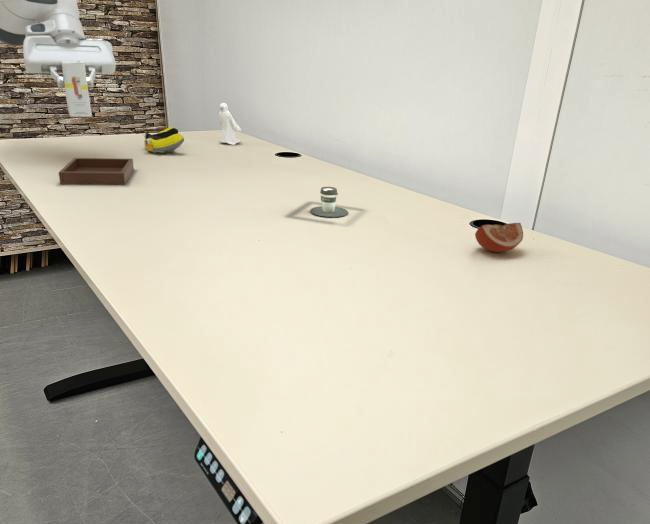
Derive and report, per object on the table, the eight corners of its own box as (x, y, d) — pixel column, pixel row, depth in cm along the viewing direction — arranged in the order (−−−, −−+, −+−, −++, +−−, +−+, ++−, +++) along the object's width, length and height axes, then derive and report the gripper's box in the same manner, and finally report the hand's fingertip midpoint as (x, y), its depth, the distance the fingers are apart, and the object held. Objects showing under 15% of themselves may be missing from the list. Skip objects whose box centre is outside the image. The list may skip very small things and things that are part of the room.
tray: (60, 184, 129) (58, 172, 128) (75, 168, 143) (73, 157, 142) (125, 184, 131) (123, 173, 130) (133, 169, 145) (132, 158, 144)
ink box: (67, 112, 145) (60, 59, 140) (88, 112, 147) (82, 60, 142) (69, 117, 138) (62, 62, 133) (92, 117, 140) (85, 62, 135)
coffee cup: (364, 209, 123) (366, 185, 121) (346, 224, 113) (348, 198, 110) (310, 201, 126) (311, 178, 124) (288, 215, 116) (289, 190, 114)
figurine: (212, 142, 182) (211, 101, 177) (231, 140, 188) (230, 100, 183) (230, 146, 179) (229, 104, 173) (248, 143, 184) (248, 102, 179)
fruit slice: (504, 243, 107) (509, 216, 105) (529, 255, 101) (535, 227, 99) (465, 247, 104) (470, 219, 102) (489, 260, 98) (494, 231, 96)
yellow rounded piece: (178, 145, 176) (143, 145, 173) (177, 126, 173) (141, 126, 170) (185, 155, 163) (148, 156, 160) (184, 134, 161) (146, 134, 158)
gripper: (110, 49, 150) (120, 94, 146) (20, 46, 141) (29, 94, 138) (110, 29, 144) (122, 76, 141) (17, 25, 136) (27, 75, 132)
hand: (75, 85), depth 139 cm, fingers closed on ink box, 5 cm apart
